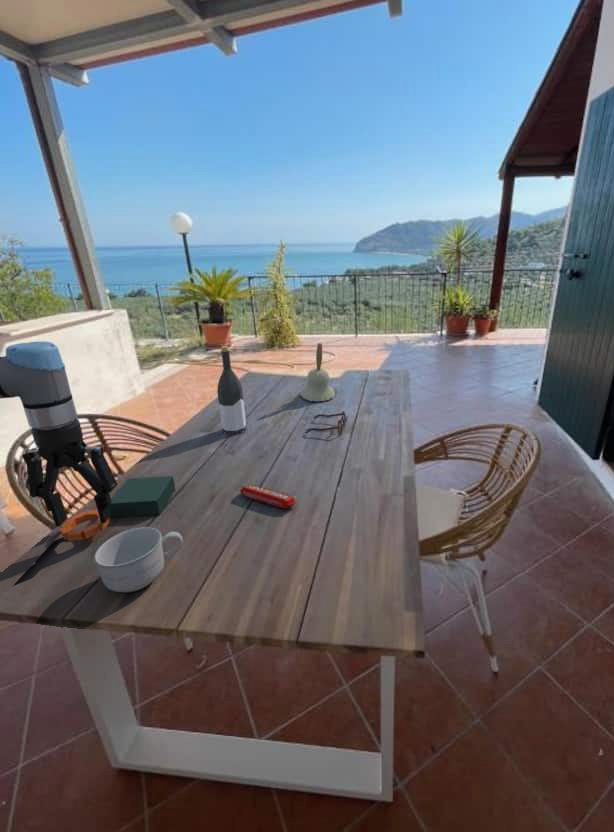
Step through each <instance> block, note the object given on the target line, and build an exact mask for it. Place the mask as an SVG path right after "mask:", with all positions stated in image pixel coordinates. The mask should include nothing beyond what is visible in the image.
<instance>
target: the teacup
mask: <svg viewBox="0 0 614 832" xmlns="http://www.w3.org/2000/svg"><path fill="white" fill-rule="evenodd" d="M172 539H176V543H175V545H174V546H173V547H172V548H171V549H170V550H168V551H165V549H166V545H167V542H168V541H169V540H172ZM183 543H184V539H183V536H182V535H181V533H179V532H177V531H170V532H167V533H166V534H164V535H162V533H161V531H160V530H159V529H158V528H155V527H151V526H150V527H149V526H145V527H143V526H142V527H136V528H131V529H127V530H125V531H122V532H120V533H118V534H115V535H113V536H112V537H110V538H109V539H107V540H105V542H103V543H102V544H101V545H100V546H99V547H98V549H97V550H96V552H95V554H94V562H95V564H96V566H97V569H98V572H99V575H100V578H101V581H102V582H103V584H104V586H105V587H106V588H107V589H109V590H110V591H112V592H116V593H133V592H136V591H140V590H142V589H144V588H145V587H147V586H149V585H150V584H152V583H153V582H154V581H155V580H156V579H157V578H158V576H159V575H160V574H162V571H163V570H164V567H165V566H166V565H165V564H166V563H167V562H169V560H170V559H171V557H172V556H174V555H175V554H177V552H178V551H179V550H180V549H181V548H182V545H183Z"/></svg>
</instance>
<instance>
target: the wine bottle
mask: <svg viewBox="0 0 614 832" xmlns="http://www.w3.org/2000/svg"><path fill="white" fill-rule="evenodd" d="M220 353H221V360H222V372H221V375H220V377H219V379H218V382H217V390H216V392H217V399H218V407H219V414H220V422H221V429H222V430H221V431H222V433H223V432H225V433H227V434H237V433H240V432H242V431H244V430H245V428H246V429H247V419H246V411H245V403H244V401H245V400H244V394H243V387H242V386H243V385H242V384H241V381H240V380H239V378H238V376H237V374H236V373H235V371H234V370H233V369H232V365H231V364H232V363H231V356H230V350H229V346H228V345H222V346H221V351H220ZM245 431H246V430H245ZM245 431H244V432H245ZM225 433H224V434H225ZM227 434H226V435H227ZM240 434H241V433H240ZM237 435H238V434H237Z"/></svg>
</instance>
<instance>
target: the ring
mask: <svg viewBox="0 0 614 832" xmlns="http://www.w3.org/2000/svg"><path fill="white" fill-rule="evenodd" d="M87 521H95V522H94V523H93V524H90V525H88V526H86V527H84V528H76V527H77V526H78V525H80V524H83V523H85V522H87ZM109 523H110V518H109V519H108V520H107V521H106V522H105V523H101V521H100V517H99V513H98V510H97V509H88V510H87V511H85V510H84V511H82V512H79V513H77V514H74V515H72V516H70V518H67V519H66V520H65V521H64V522H63V524H62V525H61V526H59V531H60V534H61V536H62V538H63V539H64V540H65V541H67V540H68V542H71V541H82V540H84V539H86V540H87V539H89V538H91V537H93V536H96V535H98V534H99V533H101V531H104V530H105V529H106V527H107V526H108V525H109ZM75 528H76V529H75Z"/></svg>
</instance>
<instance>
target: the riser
mask: <svg viewBox="0 0 614 832" xmlns="http://www.w3.org/2000/svg"><path fill="white" fill-rule="evenodd" d="M175 491H176V486H175V479H174V475H168V476H167V475H166V476H148V477H133V478H130V477H129V478H127V479H126V480H125V481H124V483H123V484H122V485H121V486H120V487H119V489H118V490H117V491H116V492H115V494H114V495H112V497H110V498H111V504H110V505H109V509H110V512H111V516H110V517H109V519H119V518H135V517H149V516H160V515H161V514H162V512H163V510H164V509H165V507H166V506H167V504H168V502H169V500H170V499H171V497H172V495H173V494H174V492H175Z"/></svg>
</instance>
